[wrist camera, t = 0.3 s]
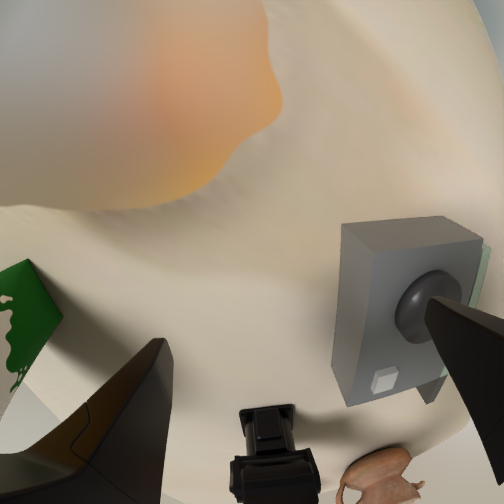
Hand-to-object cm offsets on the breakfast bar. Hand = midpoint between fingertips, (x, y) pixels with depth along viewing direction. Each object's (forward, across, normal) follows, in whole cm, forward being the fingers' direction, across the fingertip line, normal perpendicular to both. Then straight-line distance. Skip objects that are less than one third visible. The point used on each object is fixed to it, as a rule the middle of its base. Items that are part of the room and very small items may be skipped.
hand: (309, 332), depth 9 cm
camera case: (+14, -12, +10) cm, 21 cm away
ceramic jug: (+15, -18, +52) cm, 57 cm away
